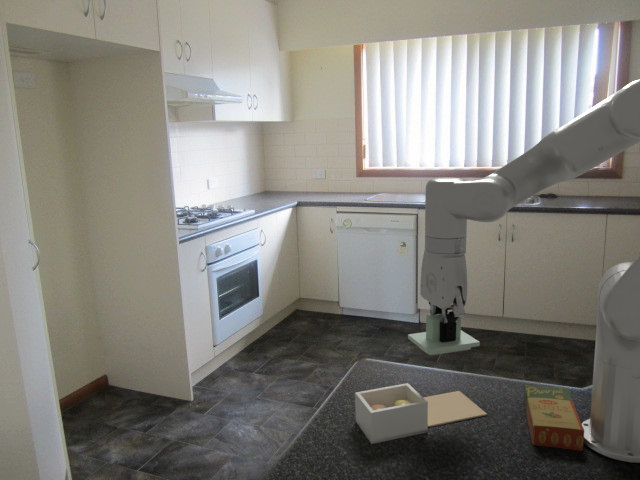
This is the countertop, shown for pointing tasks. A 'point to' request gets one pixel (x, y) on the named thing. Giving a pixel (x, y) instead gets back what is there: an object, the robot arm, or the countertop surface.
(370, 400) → the tub
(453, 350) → the lid
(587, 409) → the countertop surface
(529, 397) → the carton
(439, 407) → the mat
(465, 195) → the robot arm
